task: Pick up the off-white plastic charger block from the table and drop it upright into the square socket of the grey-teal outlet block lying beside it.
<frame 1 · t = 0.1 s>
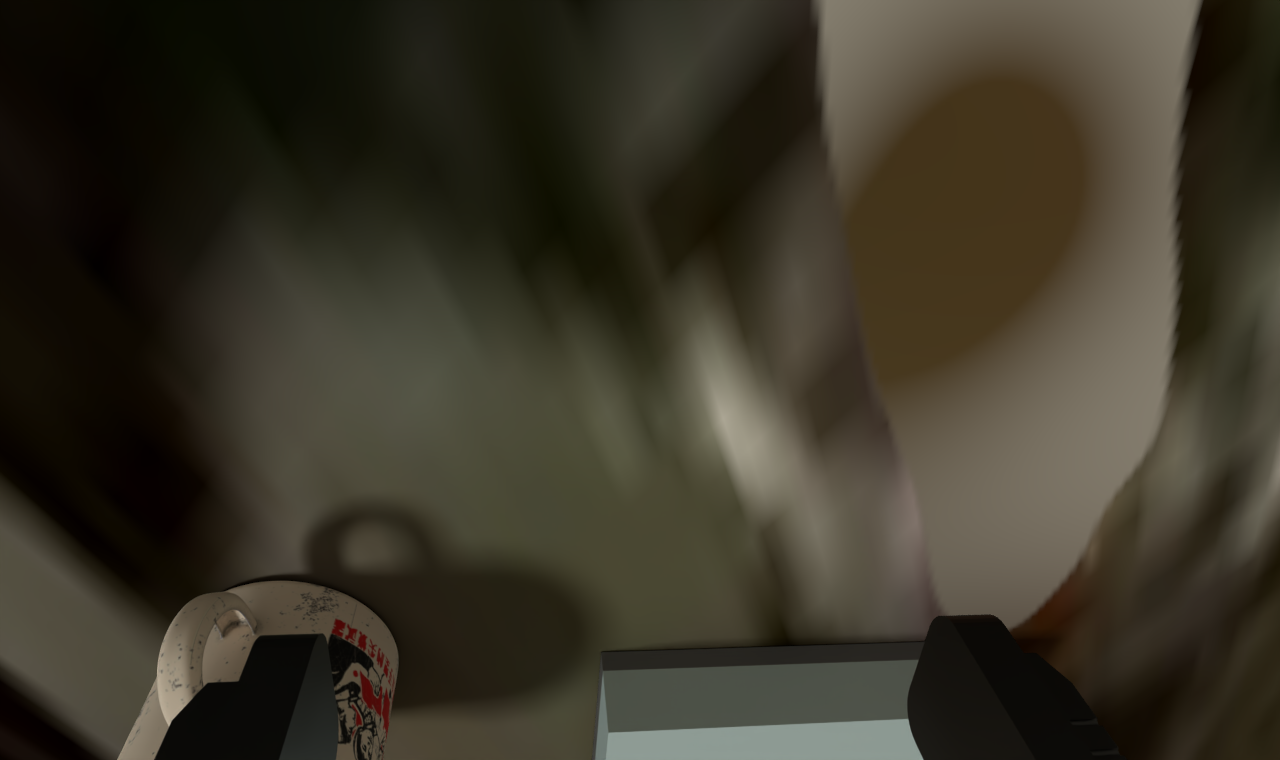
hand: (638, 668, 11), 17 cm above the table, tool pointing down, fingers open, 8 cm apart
outlet block: (770, 756, 41), on the table
teacup with lid: (283, 623, 33), on the table
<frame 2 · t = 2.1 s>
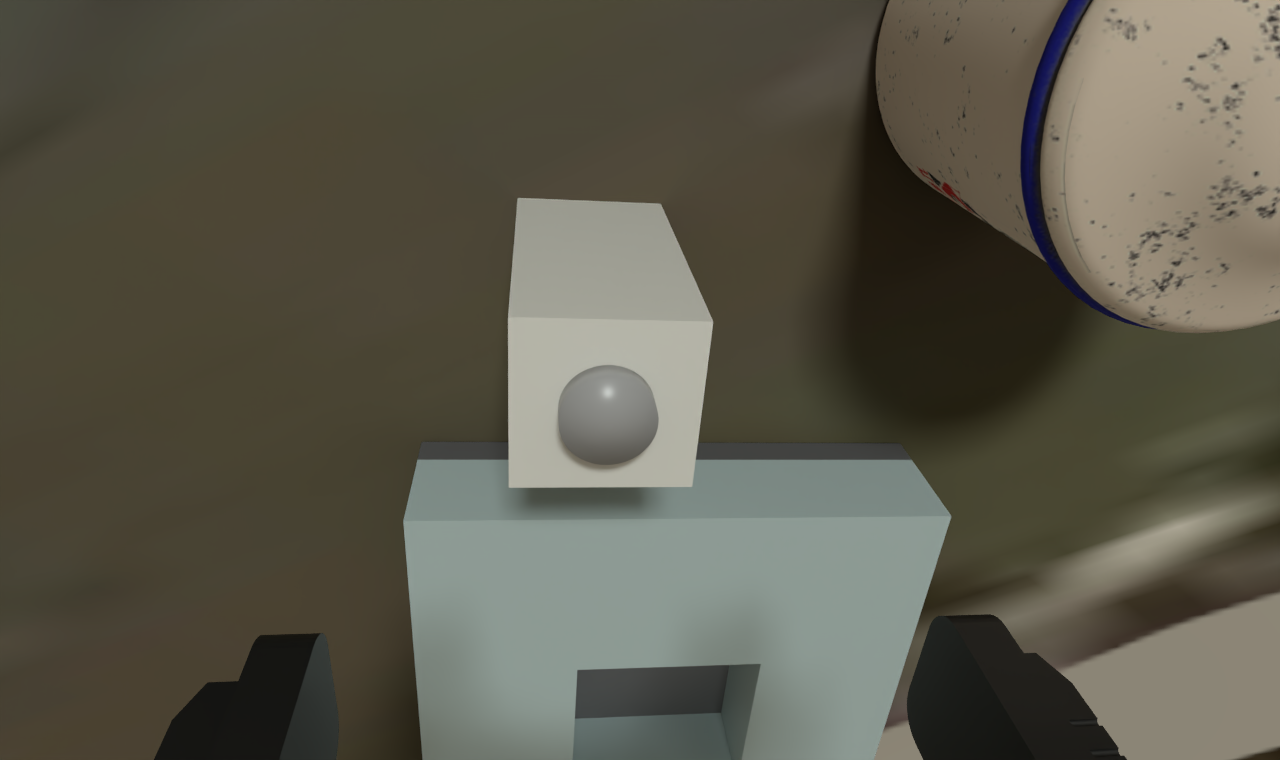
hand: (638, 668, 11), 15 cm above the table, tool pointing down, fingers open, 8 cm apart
outlet block: (648, 640, 31), on the table
charger: (586, 268, 24), on the table
teacup with lid: (1073, 39, 22), on the table
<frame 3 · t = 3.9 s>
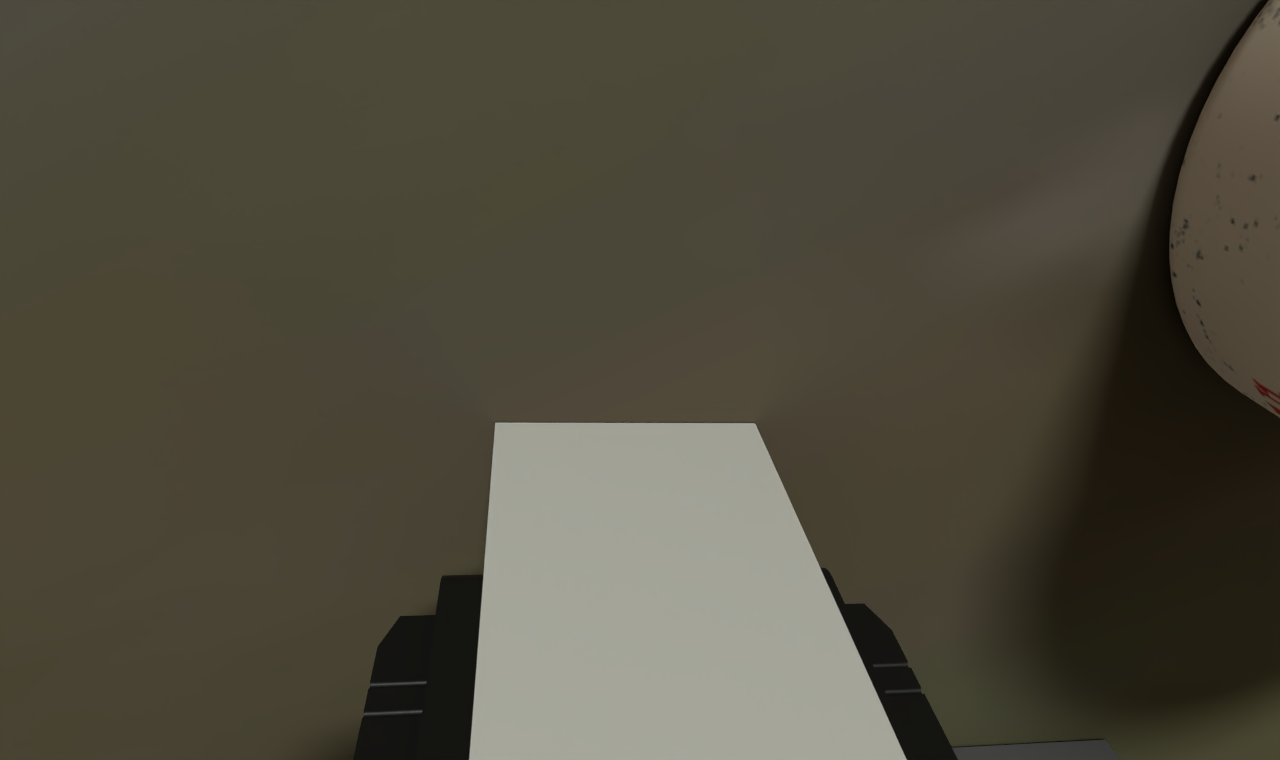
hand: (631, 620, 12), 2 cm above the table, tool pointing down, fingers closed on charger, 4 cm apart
charger: (619, 526, 13), on the table, touching gripper
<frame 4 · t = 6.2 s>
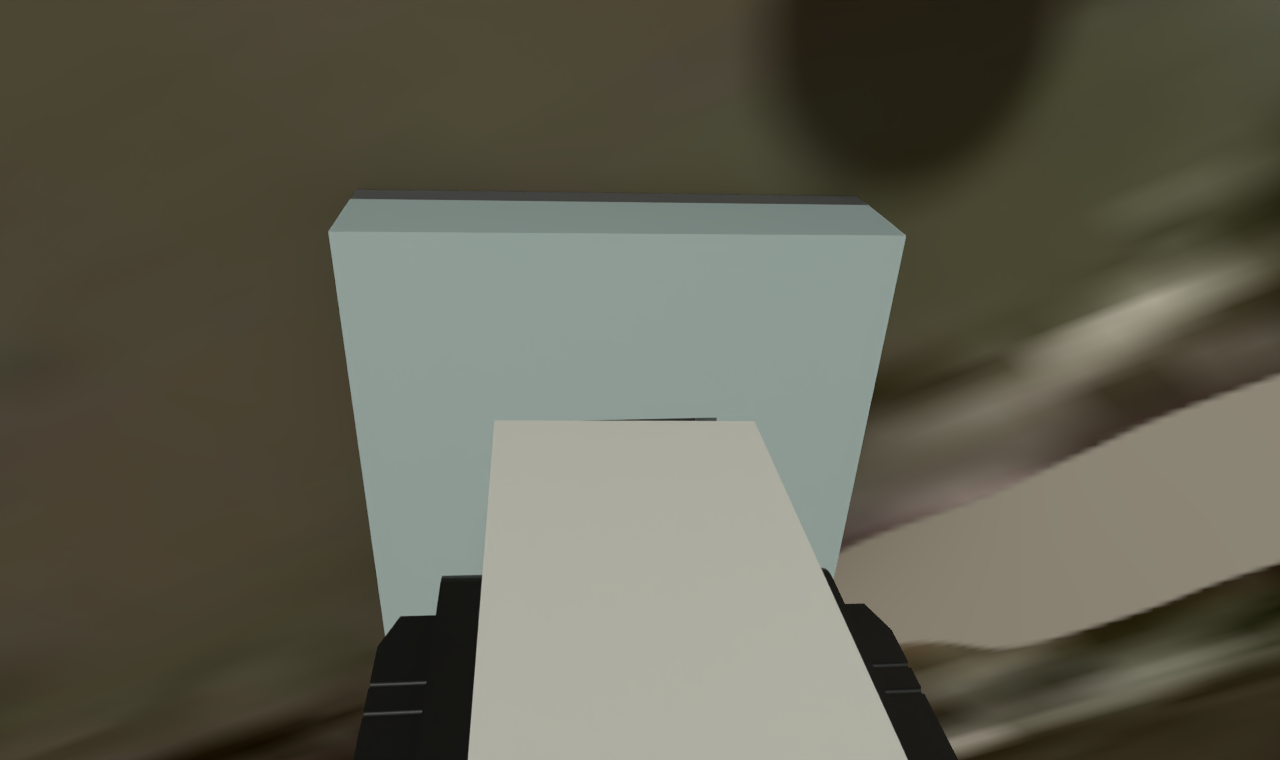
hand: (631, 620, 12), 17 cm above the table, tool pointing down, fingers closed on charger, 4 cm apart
outlet block: (608, 432, 30), on the table
charger: (619, 524, 13), point 15 cm above the table, touching gripper
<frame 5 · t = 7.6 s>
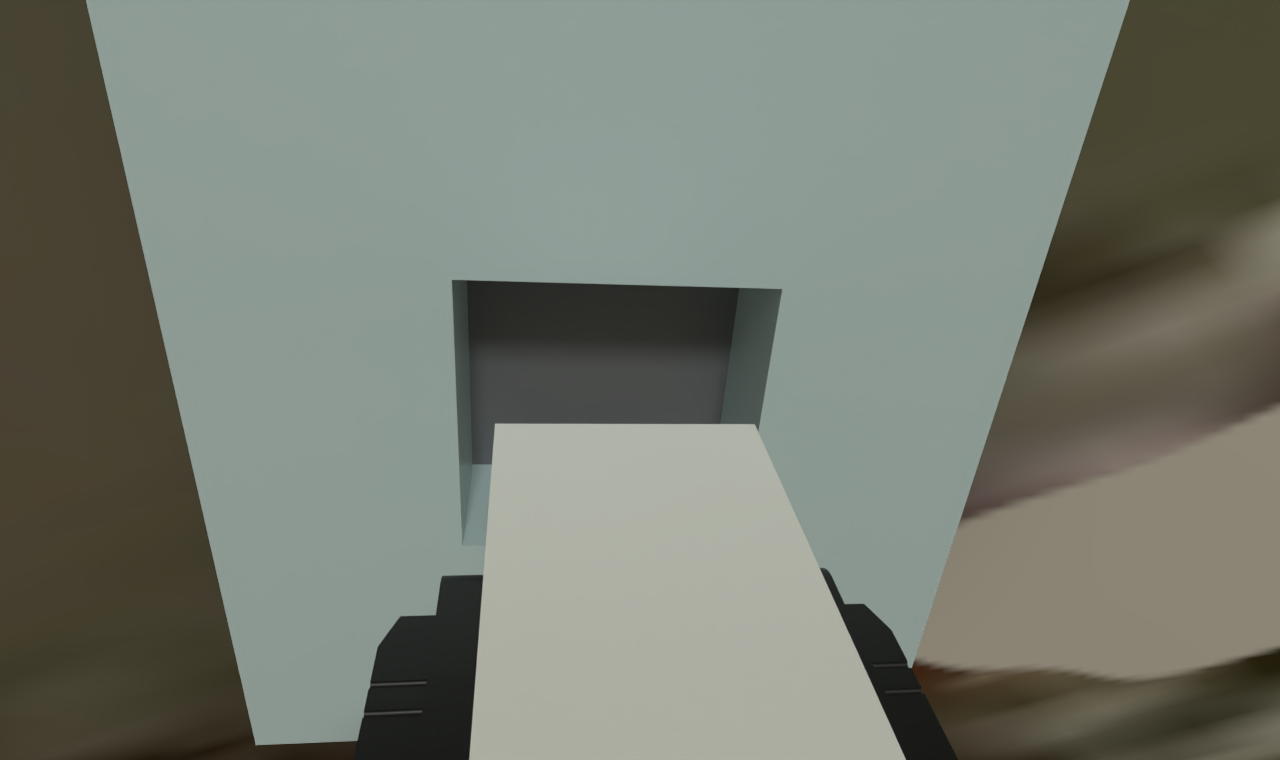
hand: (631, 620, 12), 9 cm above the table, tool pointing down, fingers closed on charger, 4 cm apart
outlet block: (599, 337, 20), on the table
charger: (619, 527, 13), point 7 cm above the table, touching gripper
when the fingers open (5 cm above the table, at t = 8.8 s): charger drops 2 cm, resting on outlet block.
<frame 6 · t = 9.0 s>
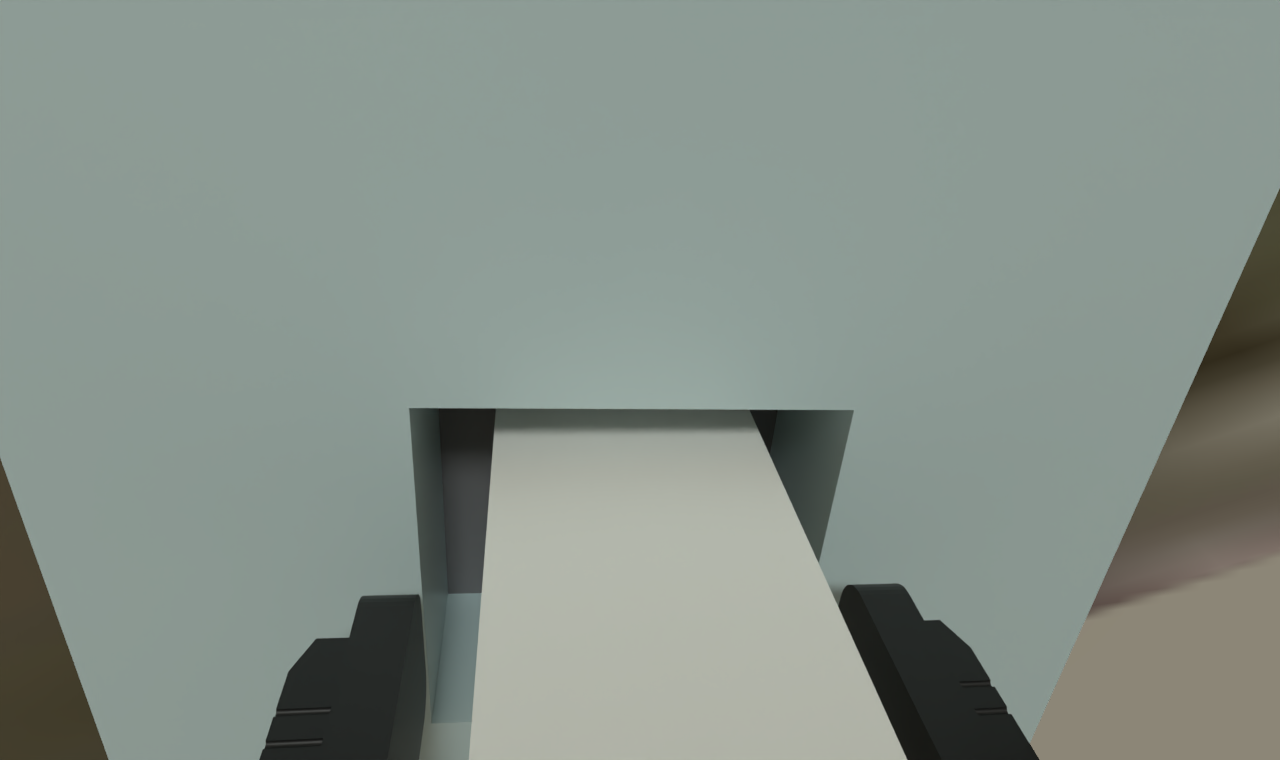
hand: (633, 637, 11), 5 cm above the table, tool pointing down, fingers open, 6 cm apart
outlet block: (604, 436, 16), on the table
charger: (612, 466, 15), point 1 cm above the table, touching outlet block
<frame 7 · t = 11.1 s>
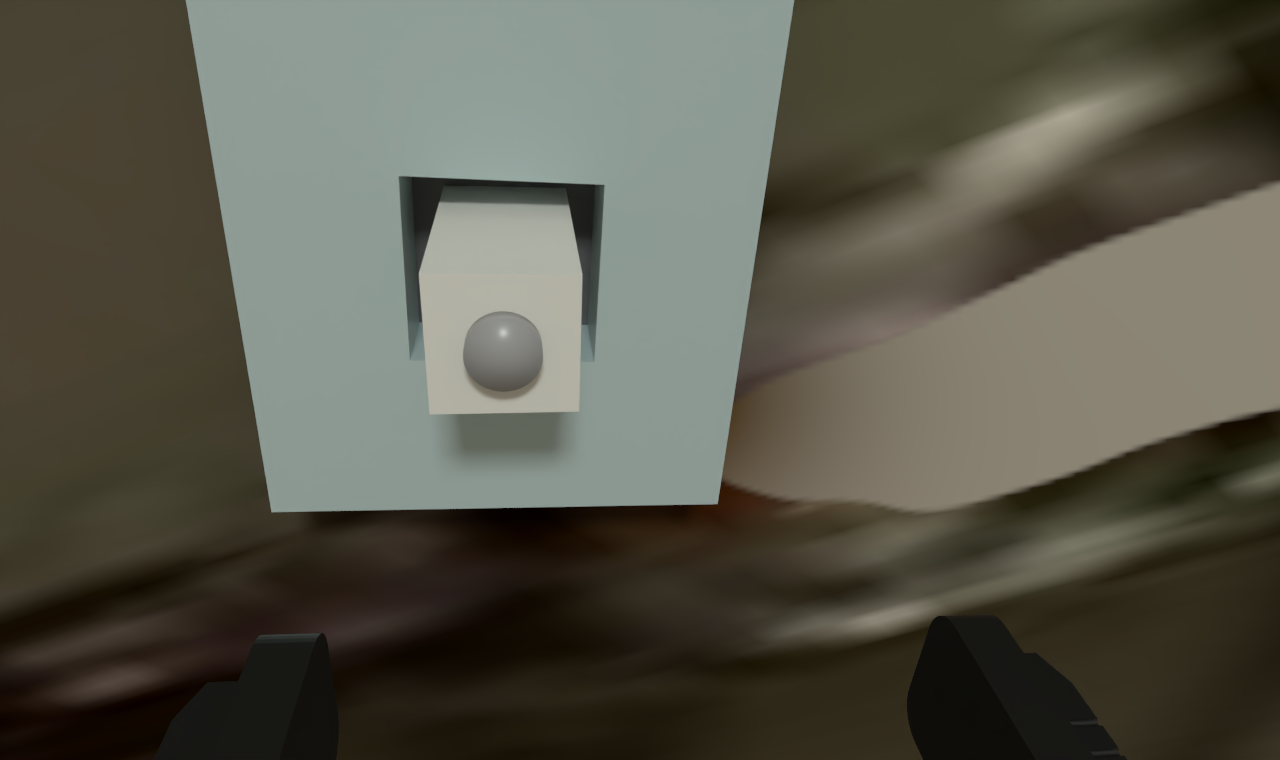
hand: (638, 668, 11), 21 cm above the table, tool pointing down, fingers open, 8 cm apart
outlet block: (505, 234, 29), on the table
charger: (506, 244, 28), point 1 cm above the table, touching outlet block
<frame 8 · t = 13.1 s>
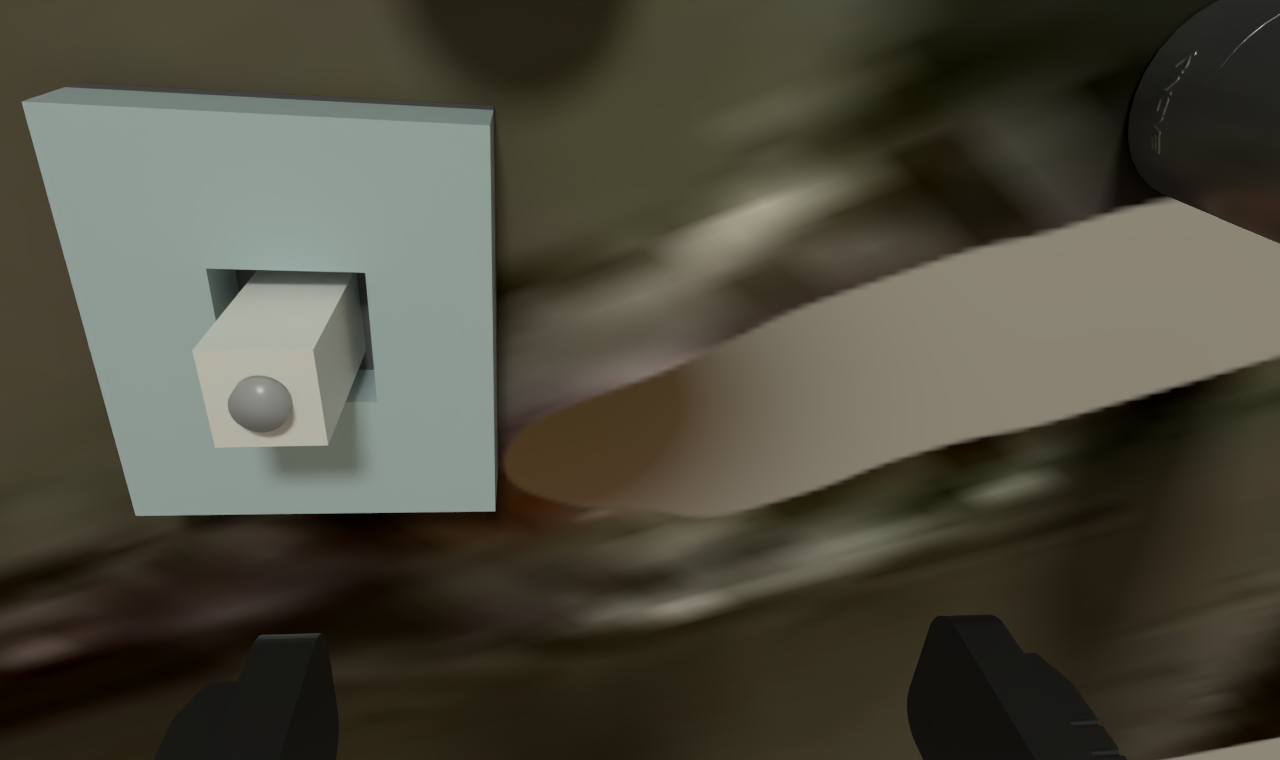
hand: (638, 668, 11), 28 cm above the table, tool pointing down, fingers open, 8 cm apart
outlet block: (318, 300, 37), on the table
charger: (314, 309, 36), point 1 cm above the table, touching outlet block
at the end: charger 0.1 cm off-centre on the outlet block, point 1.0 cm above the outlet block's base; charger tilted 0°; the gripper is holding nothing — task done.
